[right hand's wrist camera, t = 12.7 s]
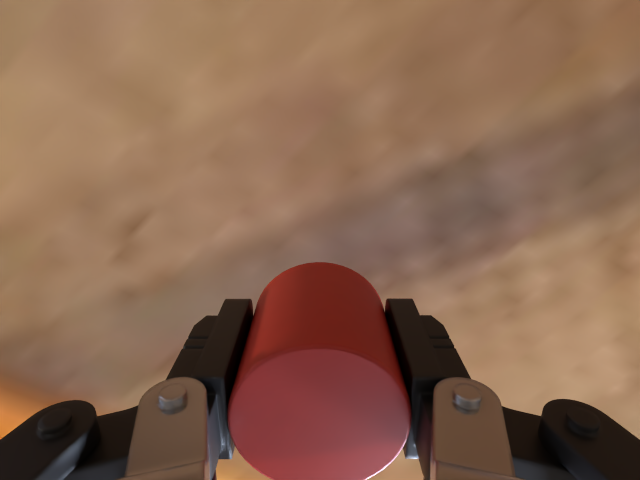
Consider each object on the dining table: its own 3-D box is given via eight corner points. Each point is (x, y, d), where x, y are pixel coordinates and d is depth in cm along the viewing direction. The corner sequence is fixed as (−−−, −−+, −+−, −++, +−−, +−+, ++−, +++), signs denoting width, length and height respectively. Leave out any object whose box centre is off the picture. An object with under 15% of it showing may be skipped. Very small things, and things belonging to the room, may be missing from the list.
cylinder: (280, 386, 13) (265, 507, 10) (235, 282, 12) (195, 374, 8) (397, 354, 13) (431, 468, 9) (363, 244, 12) (385, 322, 8)
